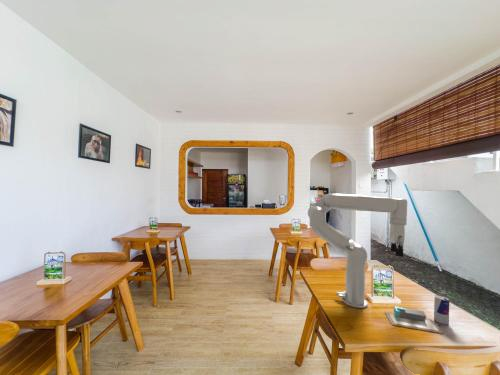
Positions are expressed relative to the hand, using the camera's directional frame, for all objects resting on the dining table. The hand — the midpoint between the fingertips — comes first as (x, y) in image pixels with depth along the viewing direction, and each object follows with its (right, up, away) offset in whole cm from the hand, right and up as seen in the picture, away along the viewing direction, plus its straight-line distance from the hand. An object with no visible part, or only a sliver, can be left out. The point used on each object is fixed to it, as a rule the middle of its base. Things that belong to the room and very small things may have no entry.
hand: (396, 253), depth 123 cm
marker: (+4, -25, -15) cm, 29 cm away
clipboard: (-3, -28, -16) cm, 32 cm away
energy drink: (+11, -28, -15) cm, 34 cm away
